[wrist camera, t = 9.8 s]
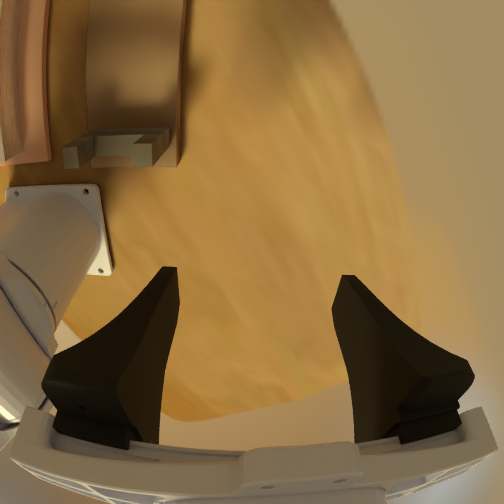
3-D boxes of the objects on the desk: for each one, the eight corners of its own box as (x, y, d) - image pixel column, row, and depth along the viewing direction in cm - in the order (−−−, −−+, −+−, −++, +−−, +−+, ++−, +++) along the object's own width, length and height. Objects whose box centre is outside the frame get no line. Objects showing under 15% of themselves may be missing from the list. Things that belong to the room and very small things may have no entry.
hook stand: (180, 161, 20) (161, 192, 15) (97, 162, 19) (61, 192, 15) (197, -75, 10) (183, -111, 6) (107, -62, 10) (73, -87, 6)
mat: (-8, 165, 18) (-12, 168, 18) (-6, -31, 8) (-10, -32, 8) (52, 158, 19) (48, 161, 18) (61, -62, 9) (57, -64, 8)
